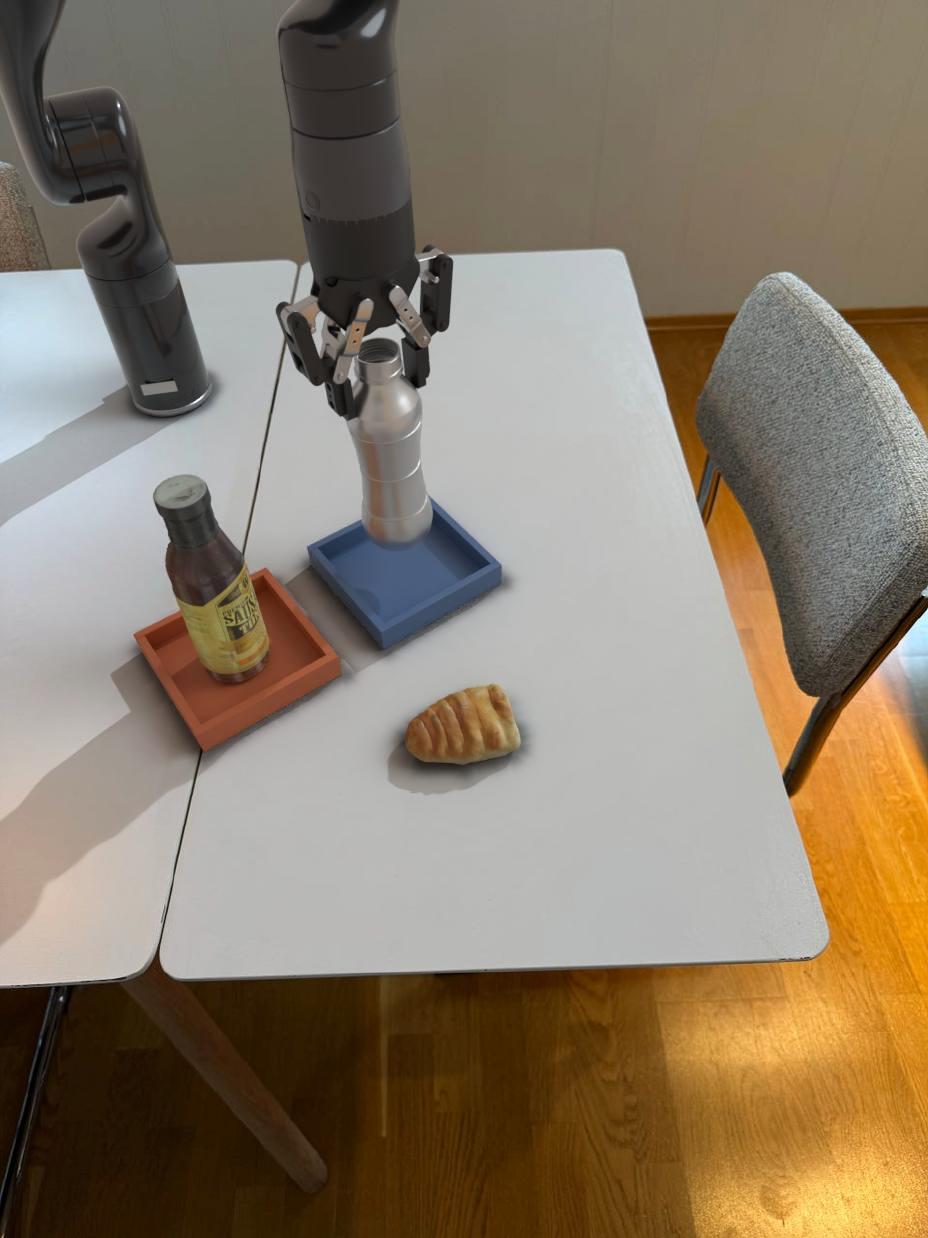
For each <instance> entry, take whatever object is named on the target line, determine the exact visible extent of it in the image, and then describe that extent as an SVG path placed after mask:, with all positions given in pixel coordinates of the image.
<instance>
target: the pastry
mask: <svg viewBox="0 0 928 1238" xmlns="http://www.w3.org/2000/svg"><path fill="white" fill-rule="evenodd" d="M404 743H405V747H406V750H408V752H409V753H410V754H411V755H412V756H414V757H415V758H417V759H418V760H419V761H422V762H424V763H437V764H442V763H445V764H455V765H462V766H463V765H464V766H465V765H467V764H471V763H477V762H483V761H487V760H490V759H496V758H502V757H505V756H507V755H508V754H510V753H513V752H514V751H516V750H518V749H519V748H520V747H521V744H522V740H521V735H520V731H519V728H518V726H517V723H516V720H515V716H514V712H513V710H512V706H511V703H510V700H509V696H508V695H507V693H506V692H505V690H504V688H502V686H501V685H499V684H495V683H490V684H489V685H483V686H471V687H467V688H464V689H463V690H460V691H456V692H453V693H450V694H448V695H447V696H444V697H442V698H440V699H438V700H437V701H436V702H435V703H433V704H431V705H429V706H428V707H427V708H426V709H424V711H422V712H420V713H418V714H417V715H416V716H415V717H413V718H412V719H411V720H410V721H409V723H408V726H407V727H406V730H405V734H404Z"/></svg>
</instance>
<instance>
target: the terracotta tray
mask: <svg viewBox="0 0 928 1238" xmlns="http://www.w3.org/2000/svg"><path fill="white" fill-rule="evenodd" d="M249 575H250V578H251V582H252V585H253V588H254V591H255V595H256V598H257V601H258V604H259V608H260V611H261V614H262V618H263V621H264V624H265V628H266V631H267V634H268V638H269V661H268V662H267V664H266V666H265V668H263V669H262V671H261V672H260V673H259V674H257V675H256V676H254V677H253V678H251V679H249V680H247V681H245V682H242V683H236V684H233V683H231V684H228V683H222V682H219V681H217V680H215V679H213V678H212V677H211V676H209V674H208V673H207V672H206V669H205V666H204V665H203V664H202V663H201V661H200V659H199V657H198V654H197V651H196V649H195V646H194V644H193V641H192V639H191V636H190V634H189V631H188V628H187V626H186V623H185V621H184V618H183V616H182V613H181V611H180V610H178V611H176V612H174V613H172V614H170V615H168V616H166V617H164V618H162V619H160V620H158V621H156V622H154V623H152V624H150V625H149V626H148V625H147V626H146V627H144V628H142V629H140V630H138V631H136V632H134V633H133V634H132V635H133V637H134V640H135V642H136V644H137V645H138V647H139V650H140V651H141V653H142V655H143V656H144V658H145V659H146V661H147V663H148V664H149V666H150V668H151V669H152V670H153V672H154V674H155V676H156V677H157V679H158V681H159V682H160V683H161V686H162V687H163V689H164V690H165V692H166V693H167V694H168V697H169V698H170V700H171V702H172V703H173V705H174V706H175V708H176V710H177V712H178V713H179V714H180V716H181V717H182V719H183V721H184V722H185V723H186V724H185V725H186V726H187V728H188V729H189V730H190V732H191V733H192V735H193V737H194V738H195V740H196V742H197V743H198V745H199V746H200V748H201V750H202V751H203V752H204V753H205V752H208V751H209V750H211V749H213V748H214V747H216V746H218V745H220V744H222V743H223V742H225V741H226V740H229V739H230V738H232V737H235V735H237V734H239V733H241V732H242V731H244V730H246V729H248V728H250V727H251V726H253V725H255V724H256V723H258V722H260V721H262V720H264V719H265V718H267V717H269V716H271V715H272V714H274V713H275V712H278V711H279V710H281V709H283V708H284V707H285V708H286V706H288V705H290V704H292V703H293V702H295V701H297V700H299V699H301V698H302V697H304V696H305V695H307V694H309V693H311V692H312V691H315V690H316V689H318V688H320V687H321V686H323V685H325V684H327V683H328V682H330V681H332V680H334V679H336V678H337V677H339V676H340V675H342V674H343V672H342V666H341V662H340V658H339V656H338V654H337V652H335V651H334V649H333V648H332V647H331V645H330V644H329V643H328V642H327V640H326V639H325V638H324V637H323V635H322V634H321V632H319V631H318V630H317V627H315V626H314V624H313V623H312V622H311V621H310V619H309V618H308V617H307V616H306V614H305V613H304V612H303V610H301V608H300V607H299V605H298V604H296V603H297V602H295V601H294V600H293V598H292V597H291V596H290V595H289V593H288V592H287V591H286V590H285V588H284V587H283V586H282V585H281V583H280V582H279V581H278V580H277V578H276V576H274V575H273V573H272V572H271V571H270V570H269V568H268V567H266V566H265V567H263V568H262V569H259V570H258V571H255V572H253V573H251V574H249Z"/></svg>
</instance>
